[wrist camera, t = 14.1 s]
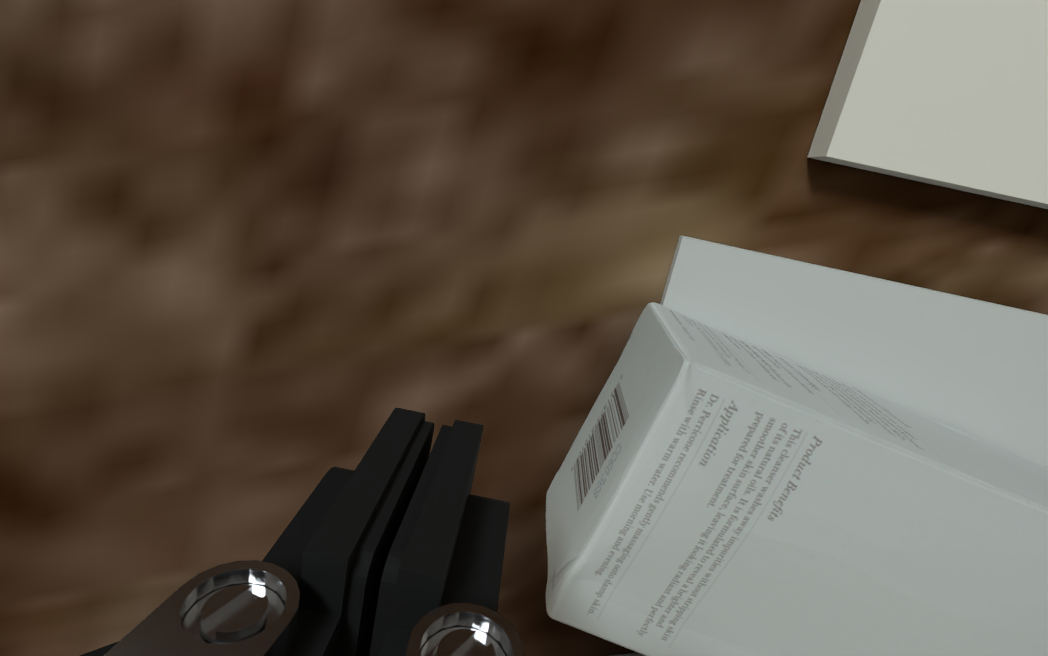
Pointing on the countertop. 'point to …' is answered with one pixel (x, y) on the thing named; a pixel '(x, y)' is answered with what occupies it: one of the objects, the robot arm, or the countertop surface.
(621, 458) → the skincare box
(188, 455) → the countertop surface
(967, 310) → the mat
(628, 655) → the donut
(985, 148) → the board
